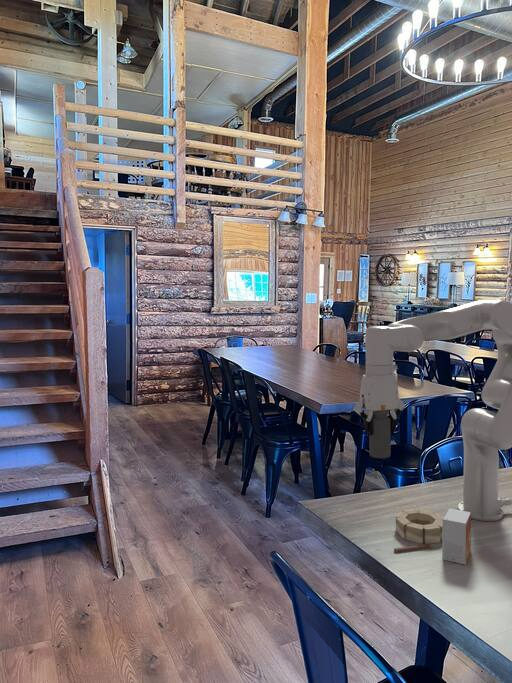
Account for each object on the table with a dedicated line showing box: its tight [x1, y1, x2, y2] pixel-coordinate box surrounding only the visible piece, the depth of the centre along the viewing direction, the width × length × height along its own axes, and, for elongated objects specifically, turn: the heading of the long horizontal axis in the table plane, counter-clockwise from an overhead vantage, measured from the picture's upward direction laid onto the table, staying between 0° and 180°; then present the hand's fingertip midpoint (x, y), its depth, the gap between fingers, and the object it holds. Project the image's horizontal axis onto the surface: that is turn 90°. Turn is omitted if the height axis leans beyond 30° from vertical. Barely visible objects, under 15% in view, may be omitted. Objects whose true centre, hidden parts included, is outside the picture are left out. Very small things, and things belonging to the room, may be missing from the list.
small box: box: [441, 507, 472, 566], centre depth 127 cm, size 8×6×10 cm
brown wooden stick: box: [393, 543, 432, 554], centre depth 130 cm, size 10×1×1 cm, turn 102°
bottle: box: [368, 405, 392, 459], centre depth 142 cm, size 6×6×15 cm
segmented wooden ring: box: [395, 508, 444, 545], centre depth 140 cm, size 12×12×4 cm
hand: (379, 432), depth 142 cm, fingers closed on bottle, 5 cm apart
